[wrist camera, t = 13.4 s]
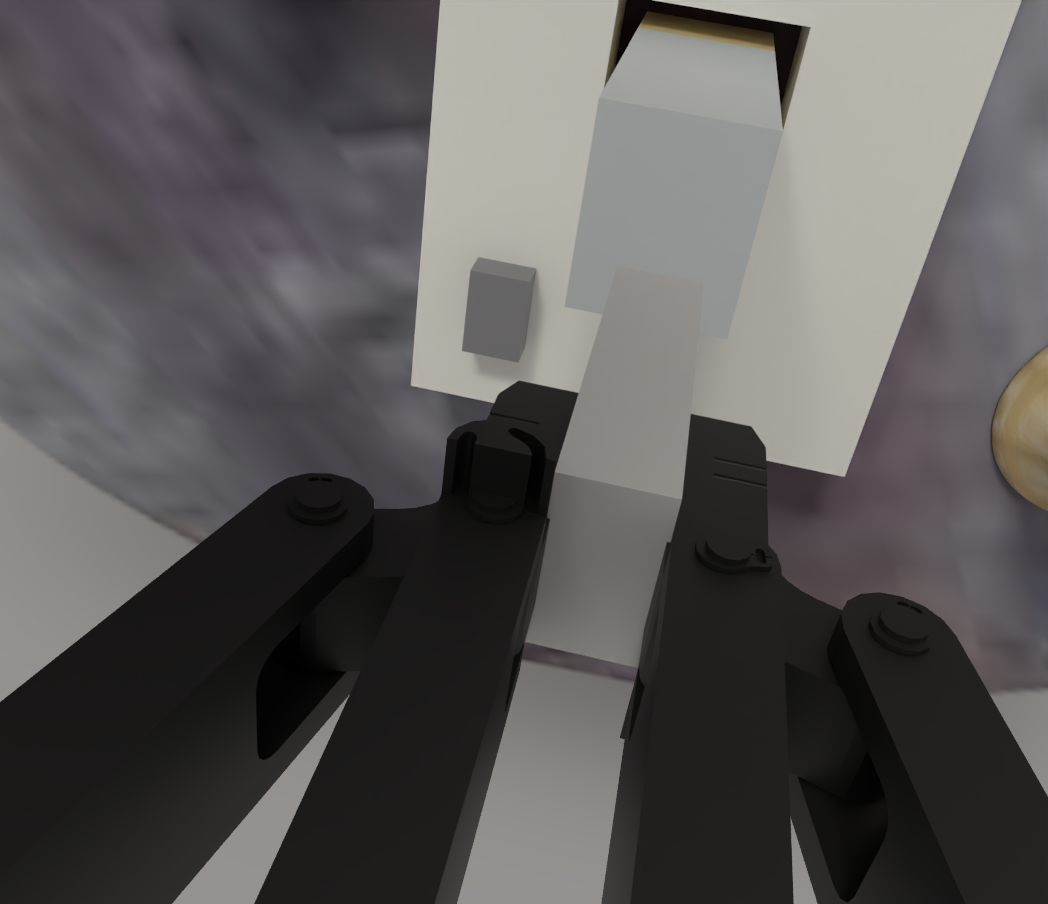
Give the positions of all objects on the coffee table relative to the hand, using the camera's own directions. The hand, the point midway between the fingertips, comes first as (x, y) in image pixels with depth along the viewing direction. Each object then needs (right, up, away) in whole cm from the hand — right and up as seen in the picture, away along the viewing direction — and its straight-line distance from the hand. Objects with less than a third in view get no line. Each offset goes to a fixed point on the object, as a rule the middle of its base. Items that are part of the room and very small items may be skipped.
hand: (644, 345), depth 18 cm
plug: (+3, +10, +15) cm, 18 cm away
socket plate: (+3, +10, +15) cm, 18 cm away
